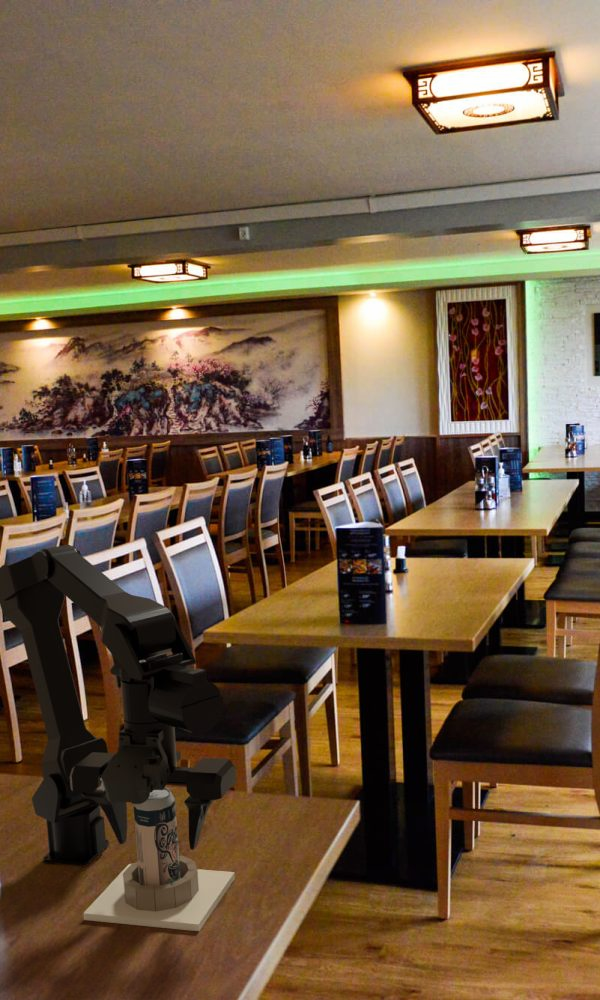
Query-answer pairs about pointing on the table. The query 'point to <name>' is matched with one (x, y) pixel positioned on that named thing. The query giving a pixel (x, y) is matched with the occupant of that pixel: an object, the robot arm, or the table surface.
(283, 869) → the table surface
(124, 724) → the robot arm
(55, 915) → the table surface
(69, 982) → the table surface
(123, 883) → the socket board
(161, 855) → the beer can
